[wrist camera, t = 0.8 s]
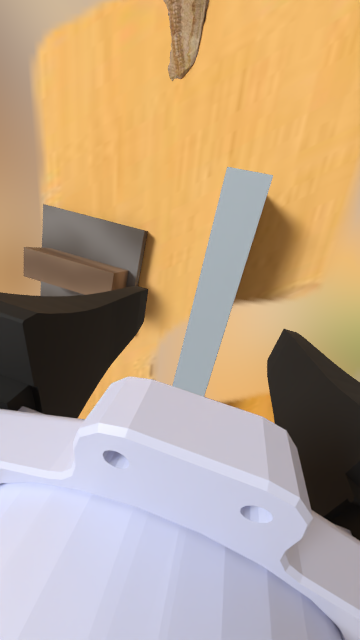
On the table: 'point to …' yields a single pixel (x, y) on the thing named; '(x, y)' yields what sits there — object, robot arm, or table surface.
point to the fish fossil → (185, 33)
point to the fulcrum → (84, 254)
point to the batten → (221, 275)
